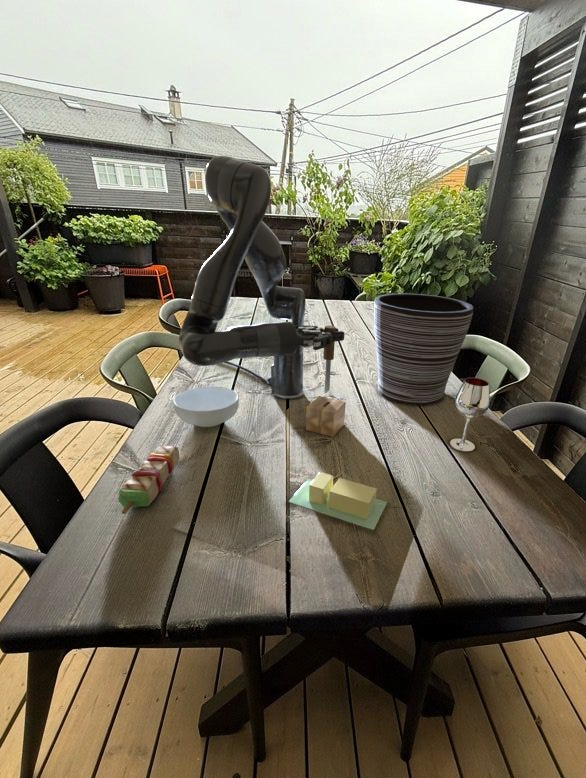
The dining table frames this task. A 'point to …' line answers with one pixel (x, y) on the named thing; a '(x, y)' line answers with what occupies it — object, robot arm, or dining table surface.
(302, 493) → the butter dish
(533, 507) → the dining table surface
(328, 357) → the knife
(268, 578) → the dining table surface
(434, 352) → the planter pot
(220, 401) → the cereal bowl
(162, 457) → the skewer
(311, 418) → the knife block
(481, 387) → the wineglass
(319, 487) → the butter slice
